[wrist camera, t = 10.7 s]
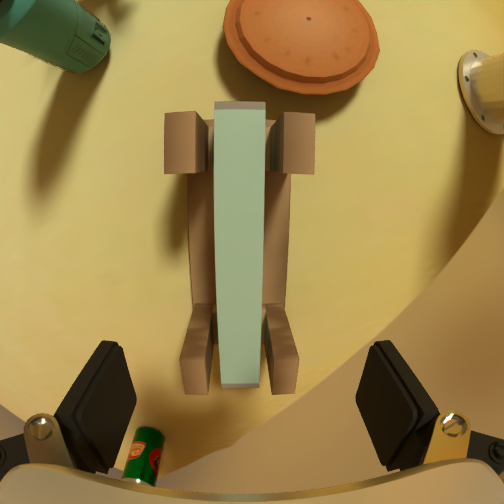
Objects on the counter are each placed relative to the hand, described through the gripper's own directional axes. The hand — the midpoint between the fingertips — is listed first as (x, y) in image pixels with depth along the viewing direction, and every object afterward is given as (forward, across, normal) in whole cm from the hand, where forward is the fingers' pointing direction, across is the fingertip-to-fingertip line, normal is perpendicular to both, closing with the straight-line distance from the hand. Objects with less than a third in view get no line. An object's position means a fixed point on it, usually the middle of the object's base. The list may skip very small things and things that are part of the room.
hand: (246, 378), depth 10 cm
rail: (+18, 0, 0) cm, 18 cm away
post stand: (+21, 0, 0) cm, 21 cm away
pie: (+22, -6, -22) cm, 31 cm away
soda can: (+21, +16, +33) cm, 42 cm away
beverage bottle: (+21, +18, -22) cm, 35 cm away
